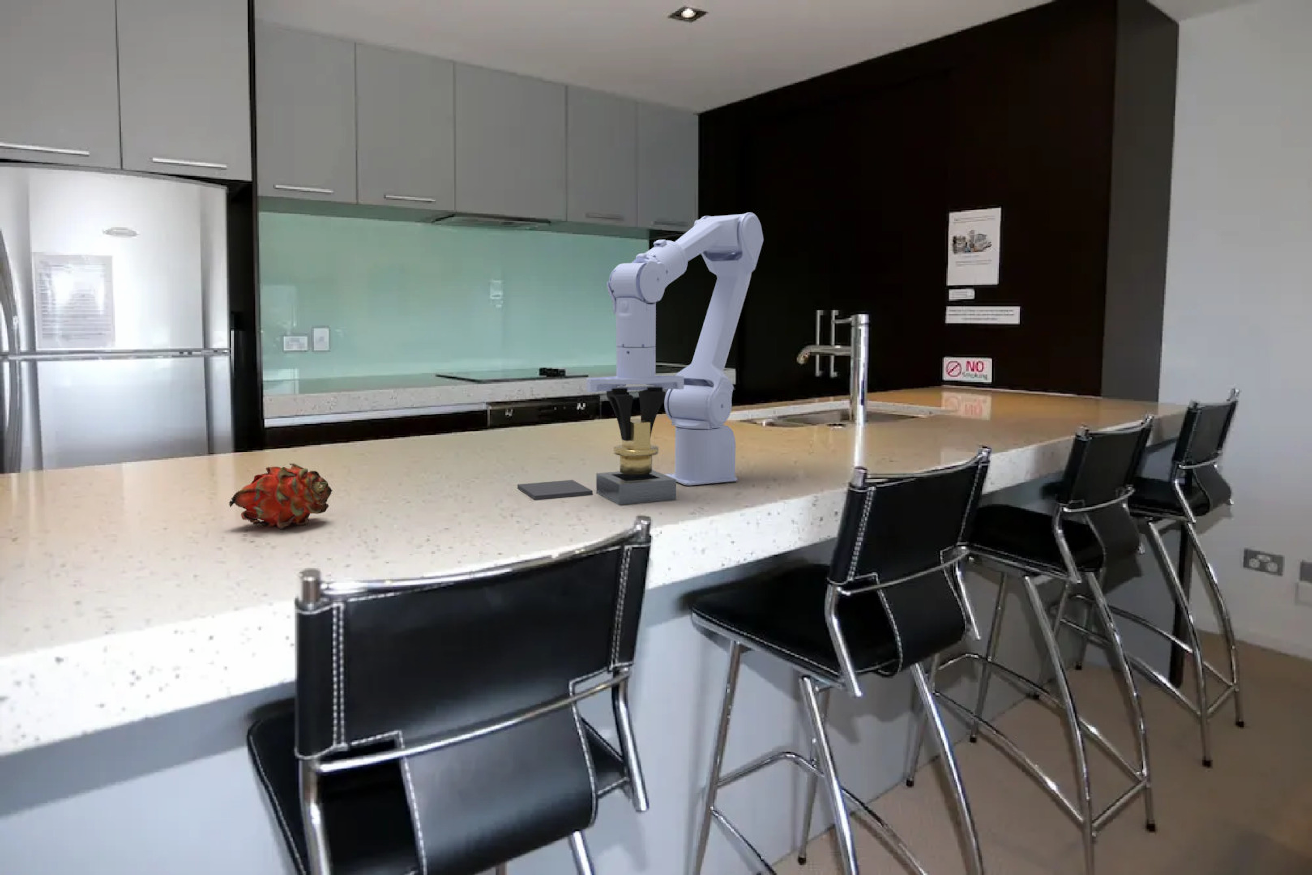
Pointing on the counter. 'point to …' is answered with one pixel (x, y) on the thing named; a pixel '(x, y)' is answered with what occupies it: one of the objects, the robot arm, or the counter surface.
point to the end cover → (637, 449)
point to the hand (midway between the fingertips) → (635, 439)
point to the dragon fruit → (283, 496)
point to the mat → (554, 489)
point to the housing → (635, 487)
